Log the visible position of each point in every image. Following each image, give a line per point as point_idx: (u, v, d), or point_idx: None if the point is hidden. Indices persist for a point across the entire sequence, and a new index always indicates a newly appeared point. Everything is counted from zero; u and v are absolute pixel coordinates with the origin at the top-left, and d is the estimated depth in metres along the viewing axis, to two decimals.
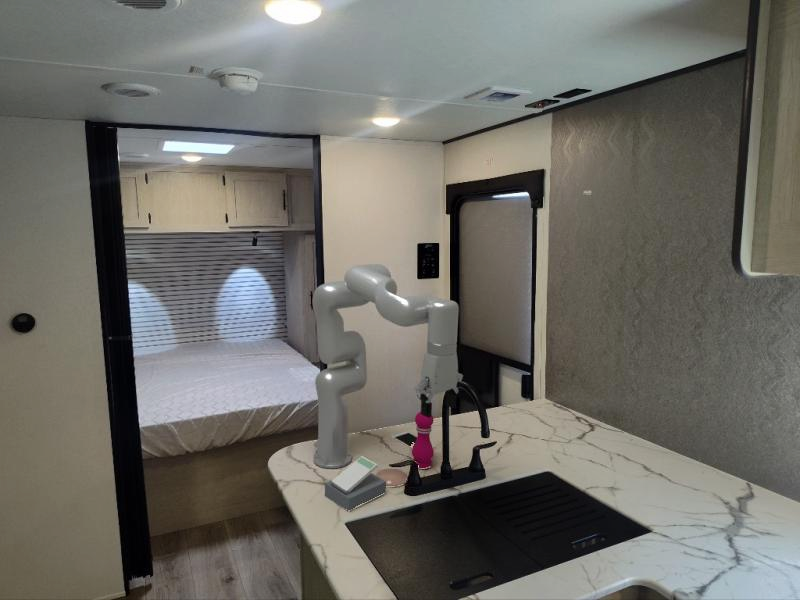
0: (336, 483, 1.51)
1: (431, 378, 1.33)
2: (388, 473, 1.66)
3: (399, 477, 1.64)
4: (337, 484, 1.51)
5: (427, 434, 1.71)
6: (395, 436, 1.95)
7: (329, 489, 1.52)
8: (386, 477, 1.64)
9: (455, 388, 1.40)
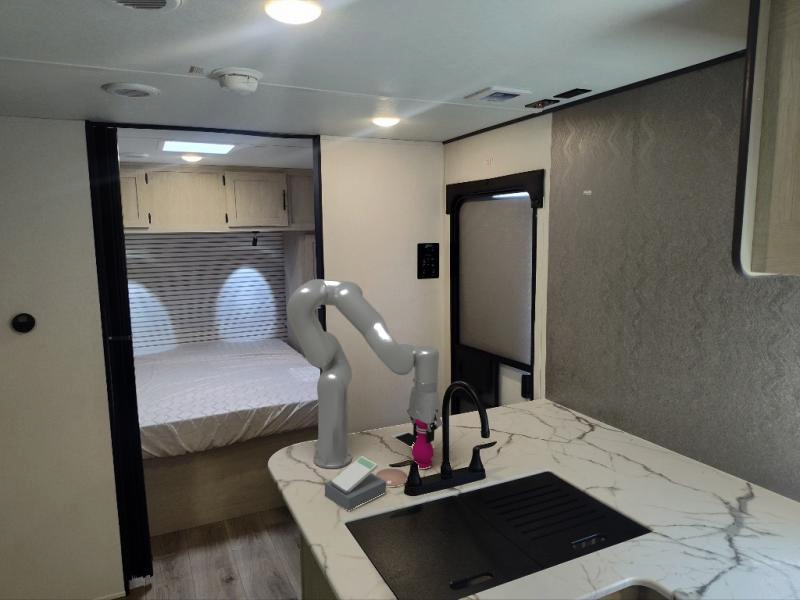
0: (336, 483, 1.51)
1: (438, 408, 1.68)
2: (388, 473, 1.66)
3: (399, 477, 1.64)
4: (337, 484, 1.51)
5: None
6: (395, 436, 1.95)
7: (329, 489, 1.52)
8: (386, 477, 1.64)
9: None
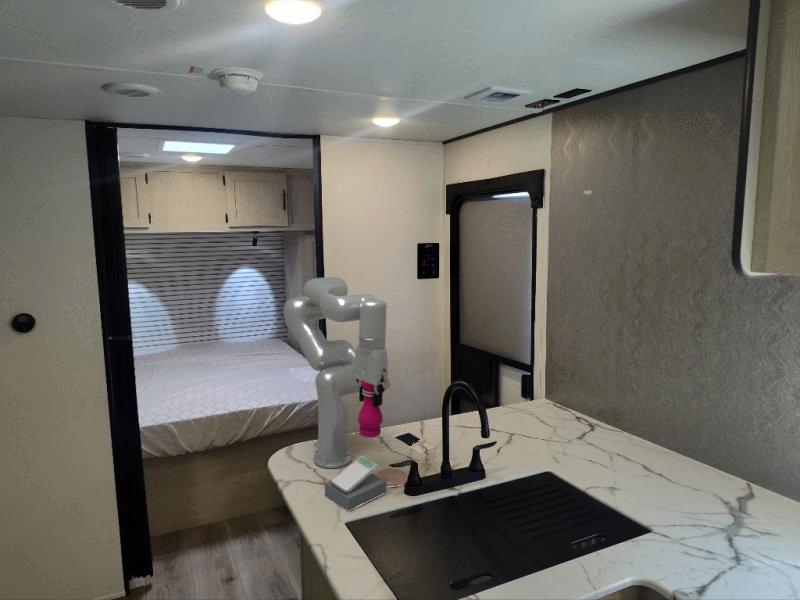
0: (336, 483, 1.51)
1: (386, 368, 1.49)
2: (388, 473, 1.66)
3: (399, 477, 1.64)
4: (337, 484, 1.51)
5: None
6: (395, 436, 1.95)
7: (329, 489, 1.52)
8: (386, 477, 1.64)
9: None
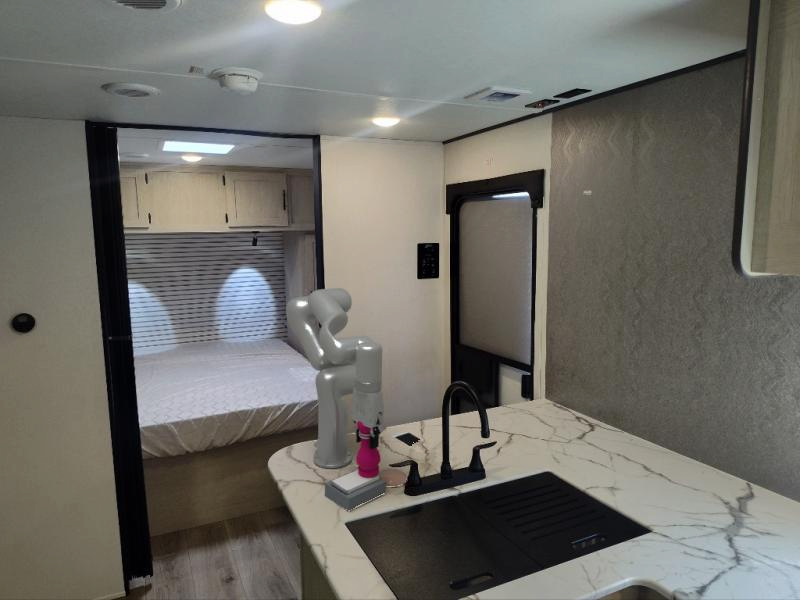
0: (336, 483, 1.51)
1: (382, 411, 1.51)
2: (388, 473, 1.66)
3: (399, 477, 1.64)
4: (337, 484, 1.51)
5: None
6: (395, 436, 1.95)
7: (329, 489, 1.52)
8: (386, 477, 1.64)
9: None
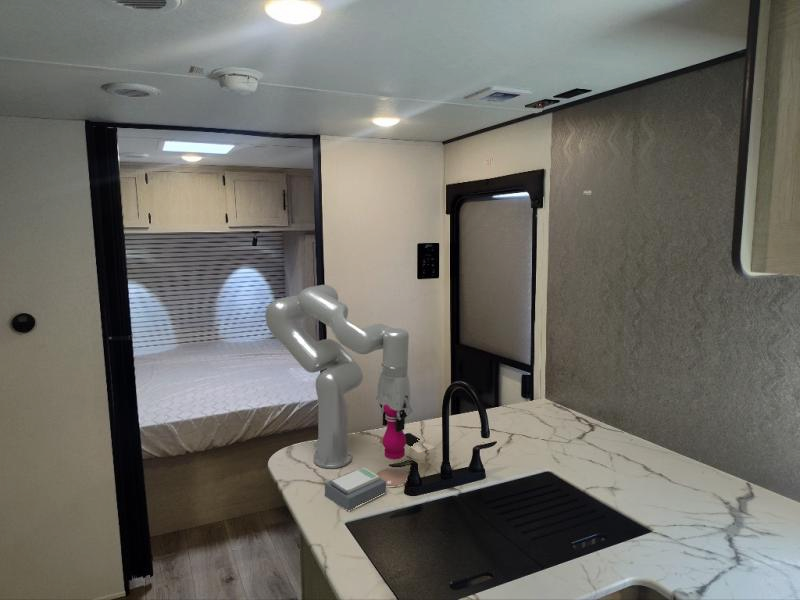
0: (336, 483, 1.51)
1: (409, 395, 1.57)
2: (388, 473, 1.66)
3: (399, 477, 1.64)
4: (337, 484, 1.51)
5: None
6: None
7: (329, 489, 1.52)
8: (386, 477, 1.64)
9: None
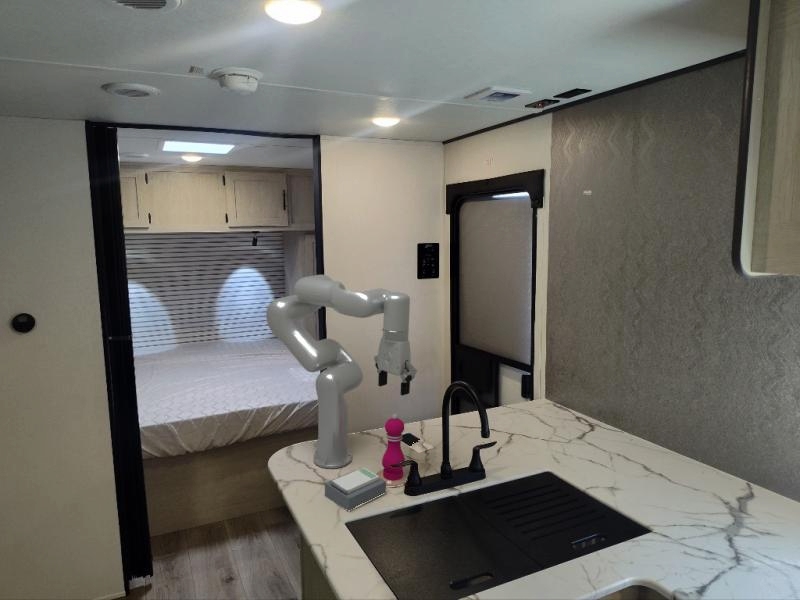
0: (336, 483, 1.51)
1: (409, 359, 1.55)
2: None
3: None
4: (337, 484, 1.51)
5: (397, 442, 1.61)
6: None
7: (329, 489, 1.52)
8: None
9: None
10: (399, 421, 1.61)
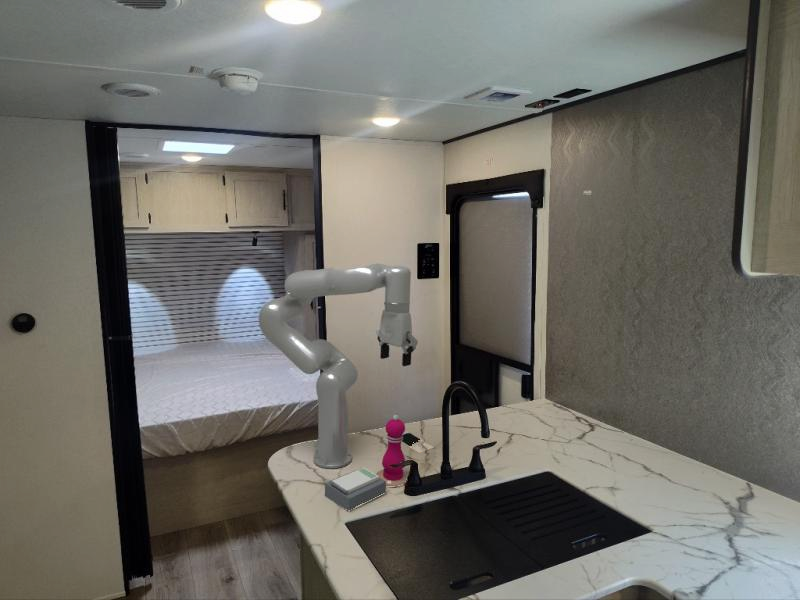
0: (336, 483, 1.51)
1: (410, 331, 1.59)
2: None
3: None
4: (337, 484, 1.51)
5: (398, 443, 1.61)
6: None
7: (329, 489, 1.52)
8: None
9: None
10: (400, 422, 1.61)
